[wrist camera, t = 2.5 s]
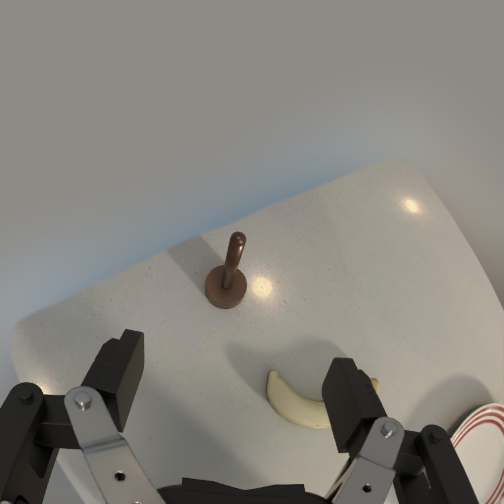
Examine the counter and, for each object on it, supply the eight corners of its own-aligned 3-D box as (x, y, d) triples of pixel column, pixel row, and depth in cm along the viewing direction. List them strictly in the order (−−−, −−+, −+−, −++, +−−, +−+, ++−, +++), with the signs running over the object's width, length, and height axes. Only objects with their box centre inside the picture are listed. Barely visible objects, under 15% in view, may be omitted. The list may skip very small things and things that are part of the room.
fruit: (366, 427, 36) (378, 429, 33) (260, 423, 35) (265, 426, 32) (371, 378, 39) (383, 377, 36) (268, 369, 38) (274, 368, 35)
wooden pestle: (205, 309, 40) (209, 264, 26) (204, 271, 42) (208, 209, 28) (245, 308, 41) (271, 263, 26) (243, 271, 43) (265, 210, 29)
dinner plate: (401, 461, 34) (414, 464, 31) (498, 377, 41) (510, 374, 38) (427, 560, 25) (437, 565, 22) (514, 475, 32) (525, 476, 29)
